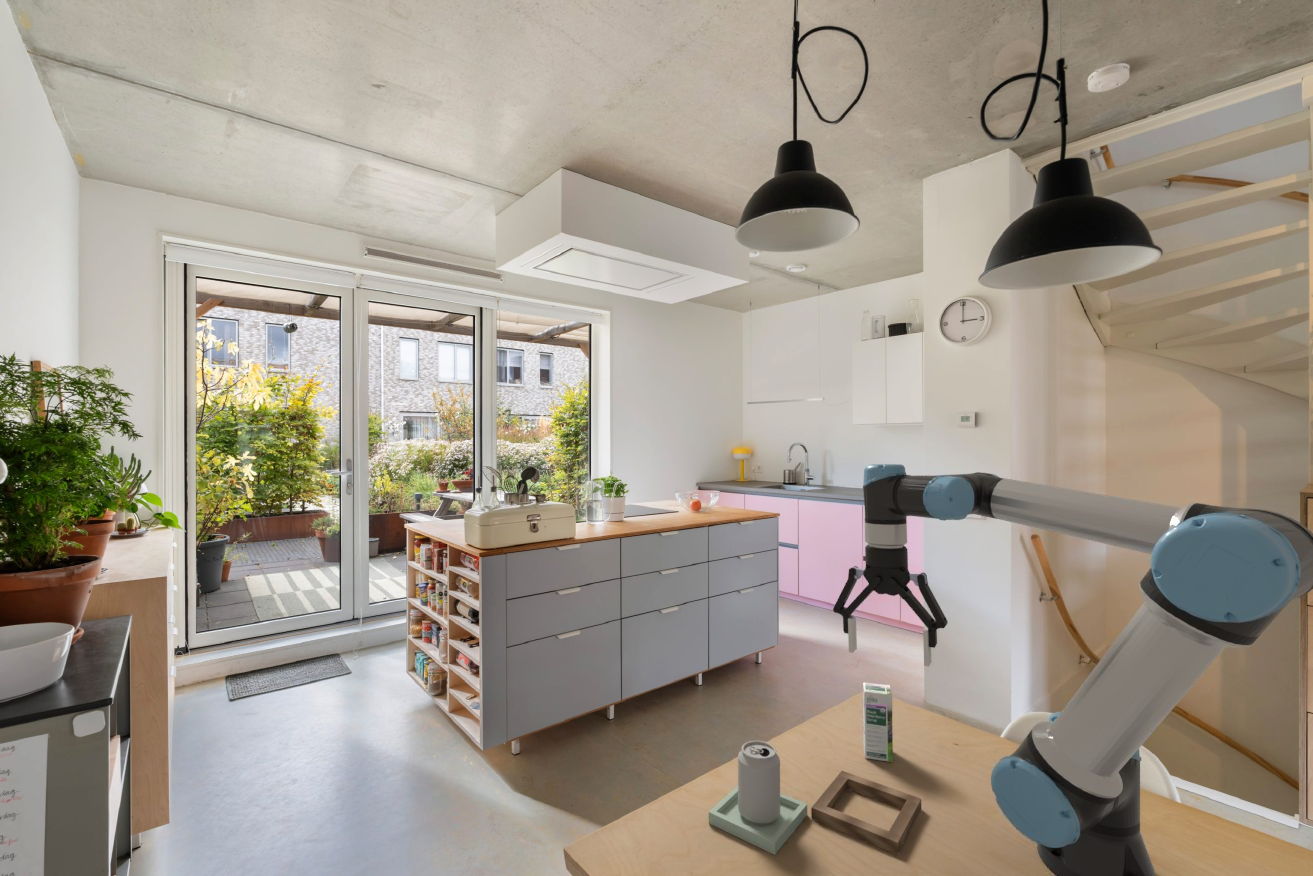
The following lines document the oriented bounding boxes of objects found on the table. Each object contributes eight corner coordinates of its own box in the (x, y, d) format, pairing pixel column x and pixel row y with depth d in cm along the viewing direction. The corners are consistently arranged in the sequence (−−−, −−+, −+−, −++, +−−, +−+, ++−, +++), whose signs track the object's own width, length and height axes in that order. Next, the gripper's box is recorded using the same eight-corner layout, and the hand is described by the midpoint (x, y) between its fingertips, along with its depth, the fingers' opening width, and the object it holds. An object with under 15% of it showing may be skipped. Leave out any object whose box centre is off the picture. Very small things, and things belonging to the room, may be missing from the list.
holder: (921, 809, 108) (921, 798, 108) (897, 855, 96) (897, 842, 96) (841, 780, 117) (841, 770, 117) (811, 818, 105) (811, 807, 105)
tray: (807, 815, 106) (807, 804, 106) (774, 855, 96) (774, 842, 96) (744, 789, 114) (744, 778, 114) (708, 823, 104) (708, 812, 104)
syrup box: (864, 759, 125) (864, 691, 125) (863, 745, 131) (862, 680, 131) (892, 763, 123) (892, 694, 123) (890, 749, 129) (890, 683, 129)
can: (780, 831, 101) (780, 761, 101) (736, 825, 102) (736, 757, 102) (780, 804, 108) (779, 739, 108) (739, 799, 110) (739, 736, 110)
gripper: (961, 547, 107) (965, 663, 106) (828, 537, 121) (830, 640, 121) (955, 553, 101) (959, 677, 100) (815, 542, 115) (818, 650, 115)
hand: (889, 657), depth 110 cm, fingers open, 13 cm apart
